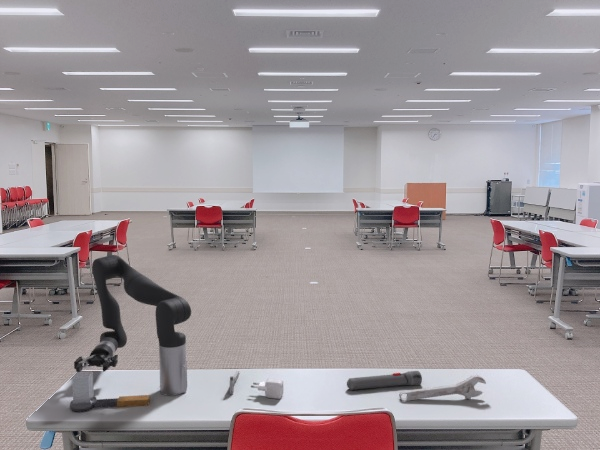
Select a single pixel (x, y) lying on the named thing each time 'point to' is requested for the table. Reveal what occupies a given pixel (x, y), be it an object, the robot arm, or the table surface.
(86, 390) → the brushed metal block
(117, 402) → the ratchet
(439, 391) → the wrench
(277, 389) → the power adapter
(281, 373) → the table surface
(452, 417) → the table surface
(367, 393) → the table surface
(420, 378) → the flashlight
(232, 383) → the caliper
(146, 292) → the robot arm
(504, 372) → the table surface
